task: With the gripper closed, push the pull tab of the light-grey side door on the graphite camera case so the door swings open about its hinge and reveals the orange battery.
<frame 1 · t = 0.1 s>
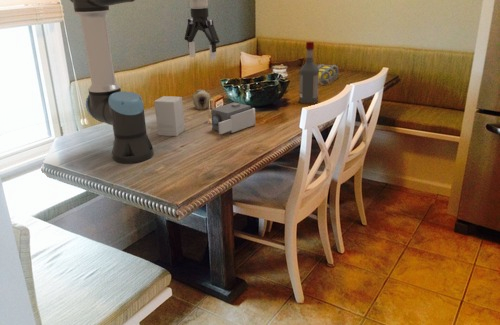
hand: (202, 58, 199), 28 cm above the table, tool pointing down, fingers open, 13 cm apart
garlic bulb: (203, 108, 226), on the table
side door: (237, 122, 189), point 4 cm above the table, hinge at 0.0°
camera case: (231, 127, 196), on the table
liquor: (308, 101, 232), on the table
cage light: (322, 81, 276), on the table
supplement box: (171, 133, 192), on the table
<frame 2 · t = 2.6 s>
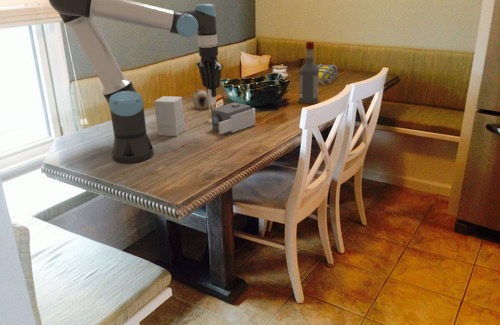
hand: (212, 104, 184), 13 cm above the table, tool pointing down, fingers closed
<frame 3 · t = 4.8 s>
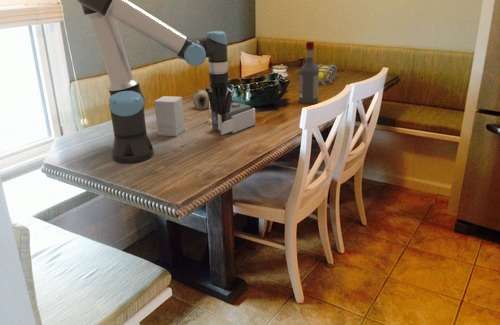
hand: (221, 128, 185), 3 cm above the table, tool pointing down, fingers closed
side door: (238, 122, 189), point 4 cm above the table, hinge at 2.6°, touching gripper
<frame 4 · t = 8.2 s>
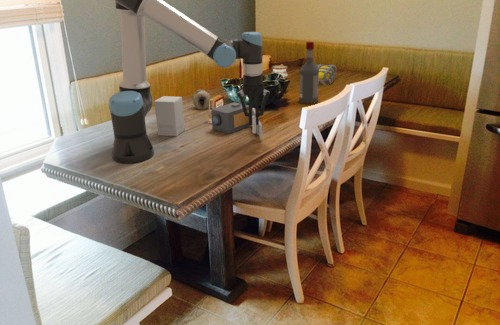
hand: (254, 132, 180), 3 cm above the table, tool pointing down, fingers closed
side door: (257, 123, 187), point 4 cm above the table, hinge at 50.7°, touching gripper
everything else where it was.
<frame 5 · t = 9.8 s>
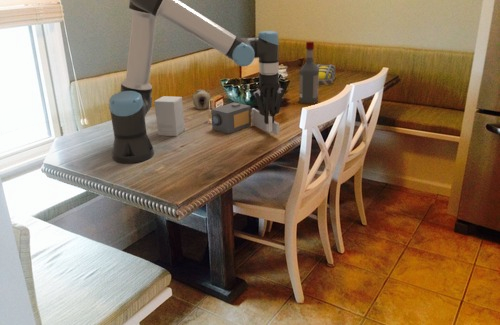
hand: (269, 130, 181), 3 cm above the table, tool pointing down, fingers closed
side door: (264, 122, 188), point 4 cm above the table, hinge at 71.0°, touching gripper
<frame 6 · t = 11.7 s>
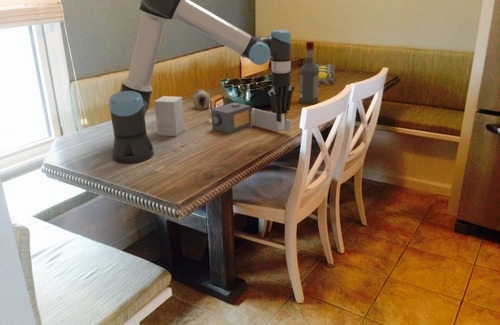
hand: (281, 128, 184), 3 cm above the table, tool pointing down, fingers closed
side door: (270, 120, 190), point 4 cm above the table, hinge at 89.5°, touching gripper
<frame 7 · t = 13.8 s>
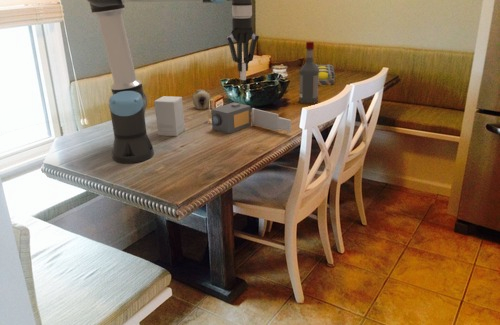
hand: (243, 79, 177), 23 cm above the table, tool pointing down, fingers closed
side door: (270, 120, 190), point 4 cm above the table, hinge at 89.5°
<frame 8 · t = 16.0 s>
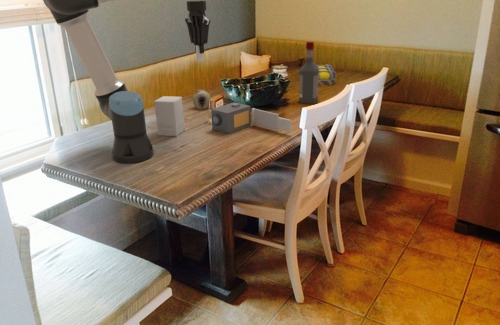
hand: (200, 61, 183), 29 cm above the table, tool pointing down, fingers closed
at the end: side door at +90° (first picture: +0°); side door touching nothing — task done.
